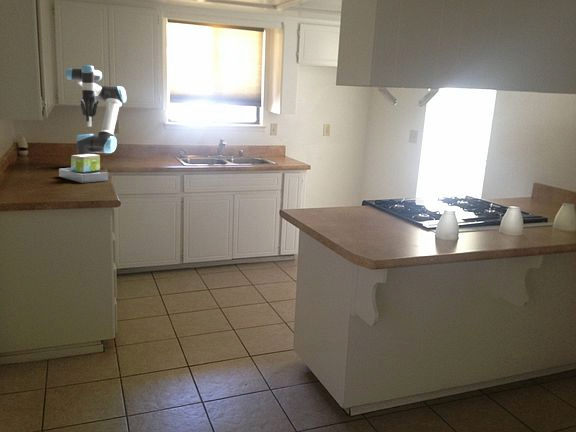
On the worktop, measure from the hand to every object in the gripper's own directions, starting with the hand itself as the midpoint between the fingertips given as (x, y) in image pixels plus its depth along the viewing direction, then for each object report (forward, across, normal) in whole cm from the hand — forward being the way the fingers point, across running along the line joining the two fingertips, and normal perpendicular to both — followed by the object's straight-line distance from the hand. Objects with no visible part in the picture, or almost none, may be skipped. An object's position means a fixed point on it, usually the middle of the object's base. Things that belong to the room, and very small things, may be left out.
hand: (89, 126), depth 347 cm
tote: (+30, +17, +22) cm, 41 cm away
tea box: (+31, +16, +22) cm, 41 cm away
